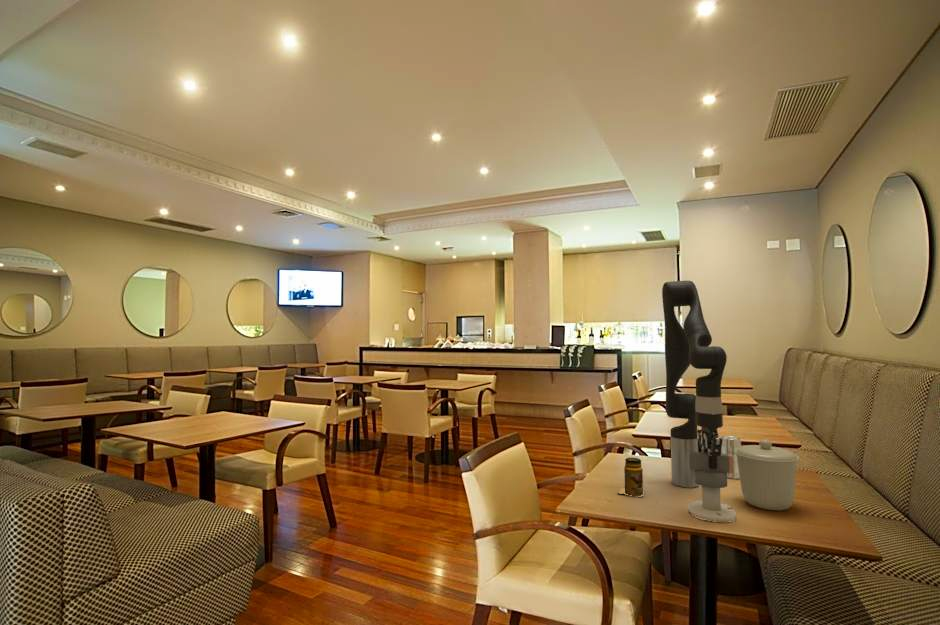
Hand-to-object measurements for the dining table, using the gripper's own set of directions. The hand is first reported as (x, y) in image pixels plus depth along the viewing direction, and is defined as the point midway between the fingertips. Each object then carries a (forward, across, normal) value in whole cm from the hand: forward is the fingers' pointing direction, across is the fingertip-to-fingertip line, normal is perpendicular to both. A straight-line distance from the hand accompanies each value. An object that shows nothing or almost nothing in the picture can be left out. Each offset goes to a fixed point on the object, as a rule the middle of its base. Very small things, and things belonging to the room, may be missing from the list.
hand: (710, 466), depth 148 cm
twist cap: (+5, 0, 0) cm, 5 cm away
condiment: (+15, -18, -20) cm, 31 cm away
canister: (+15, -10, +21) cm, 28 cm away
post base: (+15, 0, 0) cm, 15 cm away
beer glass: (+15, -41, +23) cm, 49 cm away
